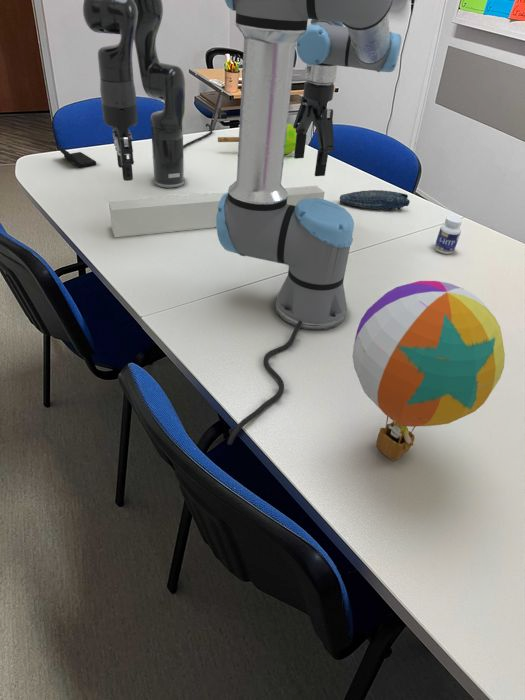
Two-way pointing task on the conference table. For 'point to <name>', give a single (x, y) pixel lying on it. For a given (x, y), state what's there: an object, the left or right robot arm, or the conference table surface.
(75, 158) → the black handled tool
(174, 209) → the beam
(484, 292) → the conference table surface
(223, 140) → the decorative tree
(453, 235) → the pill bottle
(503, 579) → the conference table surface
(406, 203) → the fish model
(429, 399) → the toy
